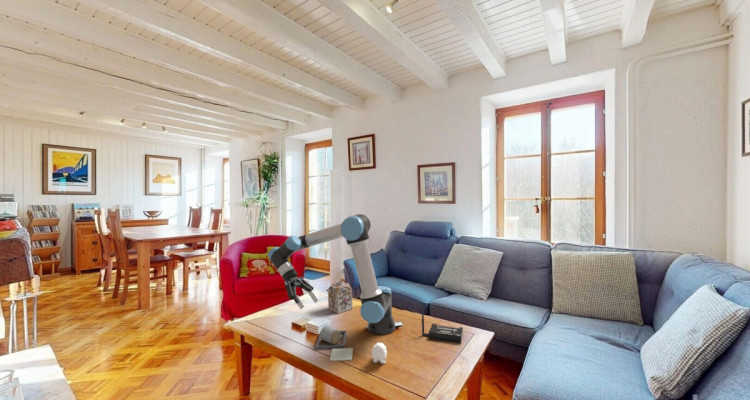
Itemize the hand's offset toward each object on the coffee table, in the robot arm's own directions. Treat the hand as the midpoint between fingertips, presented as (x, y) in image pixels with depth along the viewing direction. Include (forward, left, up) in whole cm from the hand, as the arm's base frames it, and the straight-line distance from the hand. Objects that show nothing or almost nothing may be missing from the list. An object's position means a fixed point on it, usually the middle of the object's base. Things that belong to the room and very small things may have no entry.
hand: (310, 304), depth 164 cm
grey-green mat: (-17, +18, -18) cm, 31 cm away
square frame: (-11, +4, -18) cm, 21 cm away
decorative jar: (-12, -39, -18) cm, 44 cm away
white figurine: (-35, +23, -18) cm, 46 cm away
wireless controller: (-68, +3, -18) cm, 71 cm away
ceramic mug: (-11, +4, -18) cm, 22 cm away
